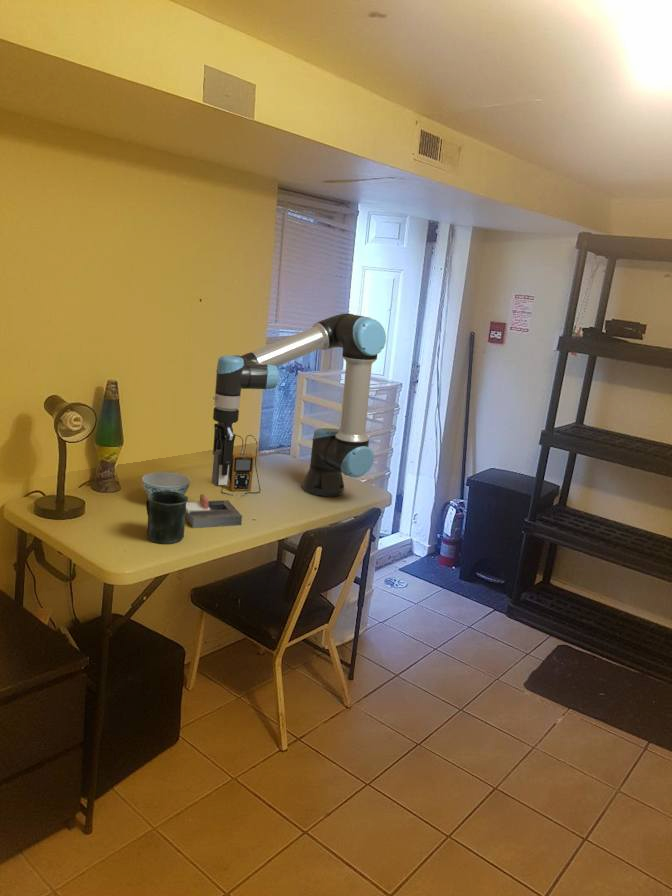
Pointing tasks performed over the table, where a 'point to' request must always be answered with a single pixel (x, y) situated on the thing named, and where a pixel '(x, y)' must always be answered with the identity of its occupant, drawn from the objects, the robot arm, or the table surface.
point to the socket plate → (215, 515)
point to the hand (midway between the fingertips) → (220, 481)
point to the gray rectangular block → (217, 468)
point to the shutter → (198, 505)
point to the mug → (166, 516)
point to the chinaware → (165, 482)
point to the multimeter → (242, 471)
